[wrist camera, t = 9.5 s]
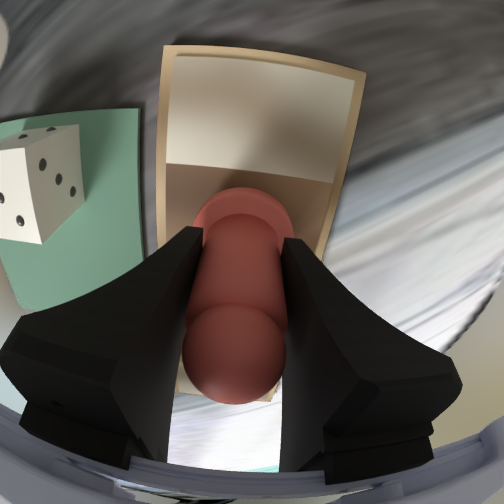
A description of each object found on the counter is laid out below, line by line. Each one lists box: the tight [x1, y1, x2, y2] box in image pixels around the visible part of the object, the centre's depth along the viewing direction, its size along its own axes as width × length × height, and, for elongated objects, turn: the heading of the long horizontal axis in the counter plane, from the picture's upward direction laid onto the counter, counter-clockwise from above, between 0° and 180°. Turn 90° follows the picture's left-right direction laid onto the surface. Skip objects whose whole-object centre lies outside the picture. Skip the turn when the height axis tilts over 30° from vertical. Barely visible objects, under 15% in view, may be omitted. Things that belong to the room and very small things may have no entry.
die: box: [0, 124, 85, 244], centre depth 10 cm, size 4×4×4 cm
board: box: [156, 45, 367, 402], centre depth 16 cm, size 24×8×1 cm, turn 173°
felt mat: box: [0, 108, 145, 311], centre depth 14 cm, size 14×12×1 cm
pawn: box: [182, 187, 294, 405], centre depth 9 cm, size 4×4×7 cm
